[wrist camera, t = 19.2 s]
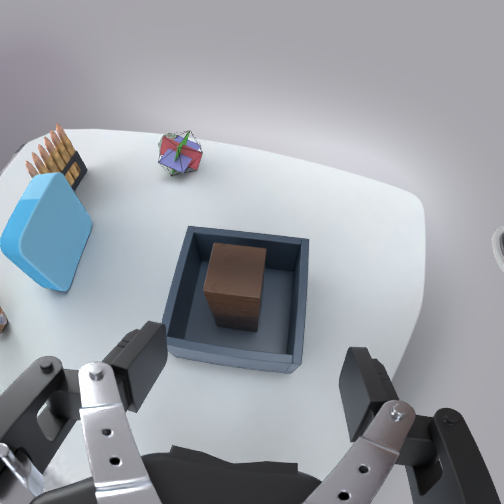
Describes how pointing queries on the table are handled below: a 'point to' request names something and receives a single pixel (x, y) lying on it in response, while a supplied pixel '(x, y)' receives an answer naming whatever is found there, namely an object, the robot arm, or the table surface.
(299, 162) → the table surface
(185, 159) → the geometric puzzle
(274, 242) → the bin
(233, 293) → the block
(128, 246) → the table surface
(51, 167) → the ammunition clip
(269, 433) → the table surface
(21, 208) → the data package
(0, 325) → the tin
